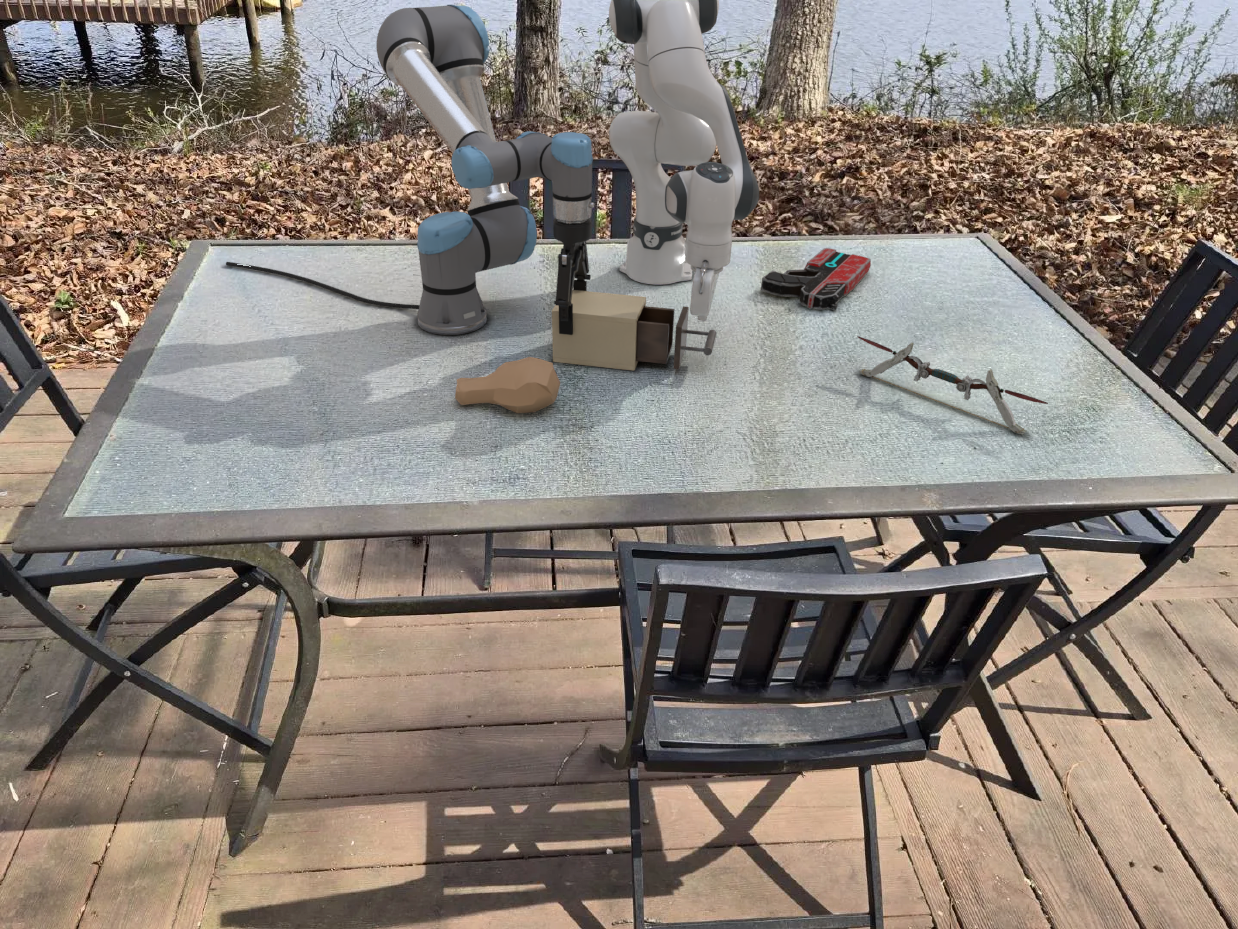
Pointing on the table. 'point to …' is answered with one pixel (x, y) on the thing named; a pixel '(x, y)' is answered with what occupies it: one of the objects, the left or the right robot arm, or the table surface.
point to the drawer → (666, 336)
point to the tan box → (599, 330)
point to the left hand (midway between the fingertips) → (573, 321)
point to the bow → (962, 385)
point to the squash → (513, 386)
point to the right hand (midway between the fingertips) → (702, 317)
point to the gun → (819, 279)
